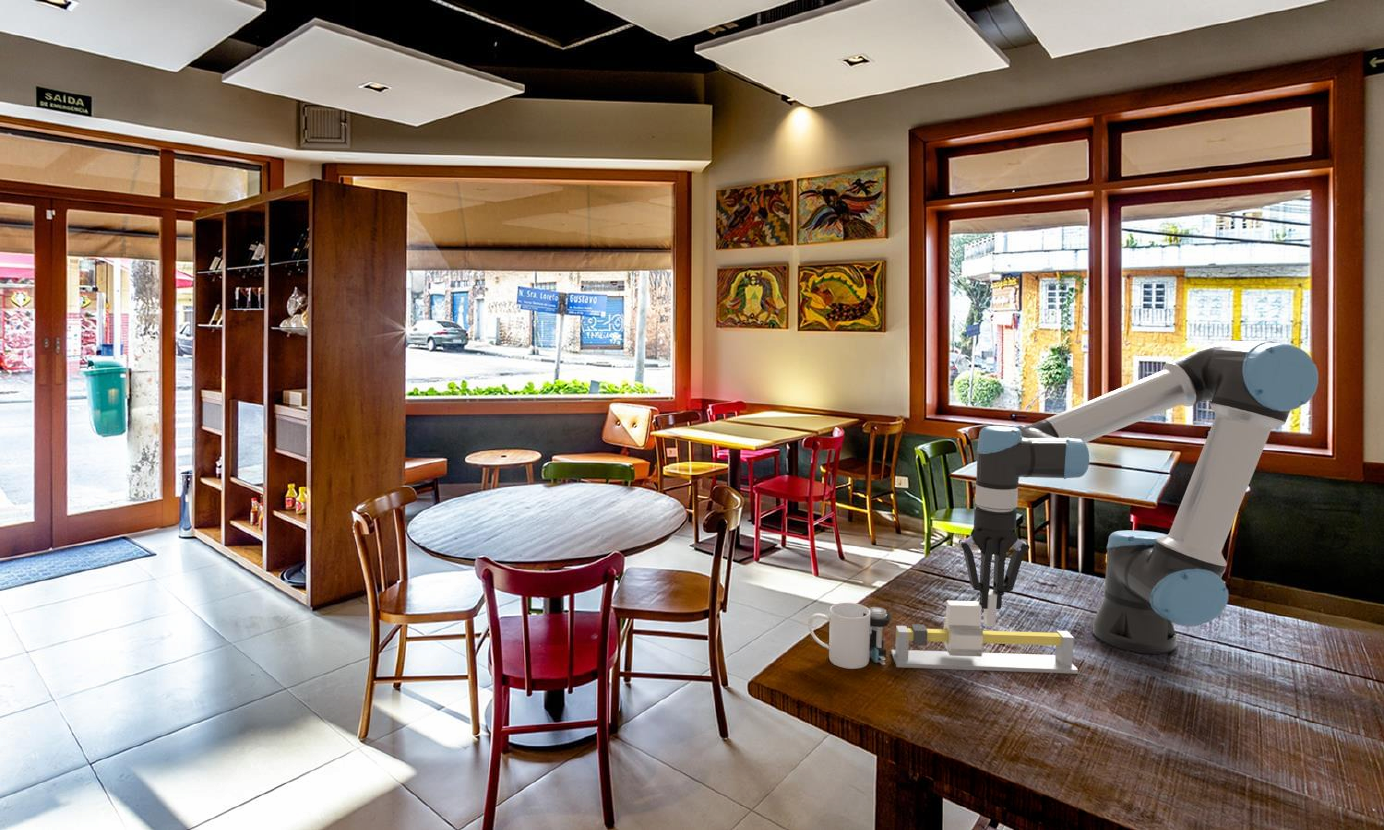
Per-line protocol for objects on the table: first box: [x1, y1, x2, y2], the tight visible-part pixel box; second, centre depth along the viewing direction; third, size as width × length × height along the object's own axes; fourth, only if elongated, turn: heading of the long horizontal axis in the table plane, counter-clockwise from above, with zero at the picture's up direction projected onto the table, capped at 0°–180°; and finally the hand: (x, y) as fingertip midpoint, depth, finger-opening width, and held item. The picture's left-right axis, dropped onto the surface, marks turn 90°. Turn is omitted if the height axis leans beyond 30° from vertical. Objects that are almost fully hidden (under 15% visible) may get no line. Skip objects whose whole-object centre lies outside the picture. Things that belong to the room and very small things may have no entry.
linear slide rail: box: [890, 625, 1079, 675], centre depth 146 cm, size 34×6×7 cm, turn 84°
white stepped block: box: [942, 600, 984, 657], centre depth 146 cm, size 6×6×10 cm
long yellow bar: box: [895, 623, 1062, 647], centre depth 146 cm, size 32×3×3 cm, turn 84°
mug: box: [807, 602, 871, 670], centre depth 147 cm, size 12×8×10 cm, turn 92°
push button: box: [863, 606, 892, 666], centre depth 148 cm, size 7×5×10 cm
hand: (989, 623), depth 145 cm, fingers closed
